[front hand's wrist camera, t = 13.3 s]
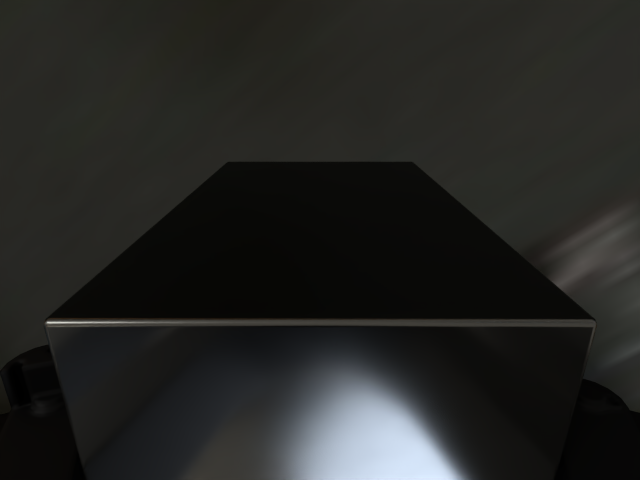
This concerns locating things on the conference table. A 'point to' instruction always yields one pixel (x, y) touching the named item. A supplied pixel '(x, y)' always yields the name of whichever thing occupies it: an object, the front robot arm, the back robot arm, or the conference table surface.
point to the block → (320, 338)
